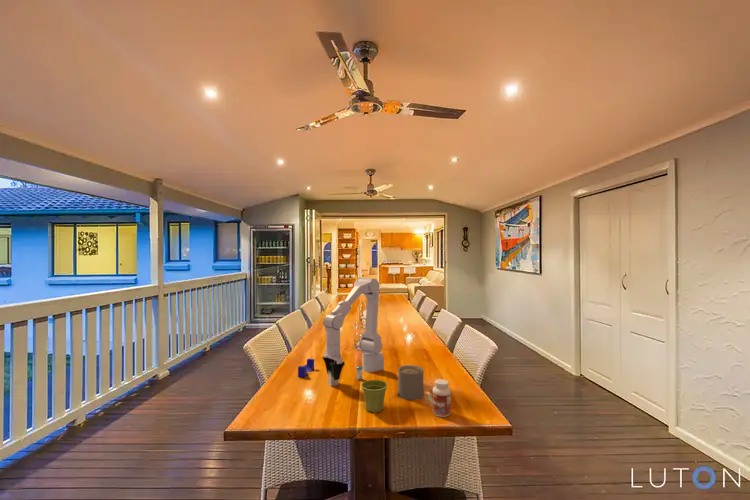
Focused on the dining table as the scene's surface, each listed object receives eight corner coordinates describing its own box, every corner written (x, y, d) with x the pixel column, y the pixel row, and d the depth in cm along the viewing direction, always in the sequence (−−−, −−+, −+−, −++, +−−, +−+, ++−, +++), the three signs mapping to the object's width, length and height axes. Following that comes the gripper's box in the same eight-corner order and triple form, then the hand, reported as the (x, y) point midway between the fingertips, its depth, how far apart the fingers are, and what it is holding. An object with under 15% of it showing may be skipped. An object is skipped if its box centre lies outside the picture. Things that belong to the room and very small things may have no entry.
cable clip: (305, 371, 162) (305, 358, 162) (314, 371, 162) (314, 358, 162) (294, 380, 151) (294, 366, 151) (304, 381, 150) (304, 367, 150)
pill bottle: (429, 414, 119) (429, 381, 119) (438, 407, 124) (438, 376, 124) (445, 419, 115) (445, 386, 115) (453, 413, 120) (453, 381, 120)
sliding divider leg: (335, 382, 144) (335, 368, 144) (338, 385, 141) (338, 371, 141) (328, 383, 143) (328, 369, 143) (331, 386, 140) (331, 372, 140)
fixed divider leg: (360, 378, 150) (360, 365, 150) (363, 380, 147) (363, 367, 147) (355, 379, 148) (355, 366, 148) (357, 381, 146) (357, 368, 146)
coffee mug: (415, 402, 128) (415, 375, 128) (393, 395, 134) (393, 370, 134) (431, 390, 139) (431, 365, 139) (410, 385, 145) (410, 361, 145)
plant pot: (367, 417, 117) (367, 391, 117) (357, 405, 125) (357, 382, 125) (391, 412, 120) (391, 387, 120) (380, 401, 129) (380, 378, 129)
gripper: (318, 340, 147) (318, 372, 147) (330, 349, 134) (330, 384, 134) (333, 338, 150) (333, 369, 150) (347, 346, 137) (347, 380, 137)
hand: (333, 376), depth 142 cm, fingers open, 7 cm apart
